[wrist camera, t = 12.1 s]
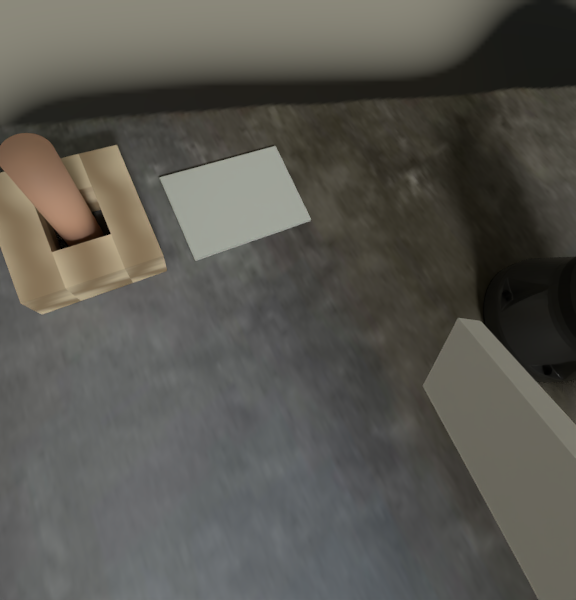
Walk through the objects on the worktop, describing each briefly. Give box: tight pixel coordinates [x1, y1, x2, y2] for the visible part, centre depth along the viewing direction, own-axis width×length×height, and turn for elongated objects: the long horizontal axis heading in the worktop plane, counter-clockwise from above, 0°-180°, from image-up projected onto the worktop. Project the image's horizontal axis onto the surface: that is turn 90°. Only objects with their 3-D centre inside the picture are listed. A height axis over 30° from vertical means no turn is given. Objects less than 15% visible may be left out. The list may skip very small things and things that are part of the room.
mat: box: [159, 146, 311, 261], centre depth 43 cm, size 14×10×1 cm
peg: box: [0, 133, 104, 247], centre depth 32 cm, size 3×3×14 cm
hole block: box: [0, 145, 167, 314], centre depth 36 cm, size 12×12×4 cm
